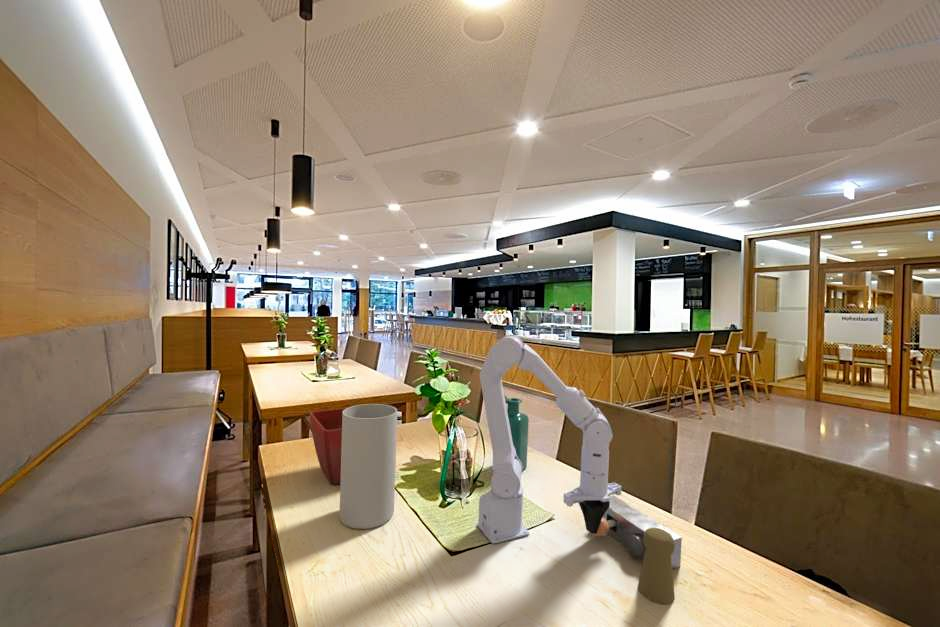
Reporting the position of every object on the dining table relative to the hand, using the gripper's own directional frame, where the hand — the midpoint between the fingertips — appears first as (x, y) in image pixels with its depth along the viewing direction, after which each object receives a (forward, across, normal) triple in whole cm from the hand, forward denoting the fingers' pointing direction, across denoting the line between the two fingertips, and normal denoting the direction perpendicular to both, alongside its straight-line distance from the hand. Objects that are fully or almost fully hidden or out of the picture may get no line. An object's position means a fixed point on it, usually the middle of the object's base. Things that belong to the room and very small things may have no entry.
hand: (591, 531), depth 85 cm
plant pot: (+3, -44, +53) cm, 69 cm away
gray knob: (+1, +7, -8) cm, 11 cm away
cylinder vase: (+3, -43, +28) cm, 52 cm away
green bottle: (+3, +3, +40) cm, 40 cm away
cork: (+3, +1, -16) cm, 16 cm away
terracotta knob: (+1, +5, 0) cm, 5 cm away
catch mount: (+2, +8, -4) cm, 9 cm away
